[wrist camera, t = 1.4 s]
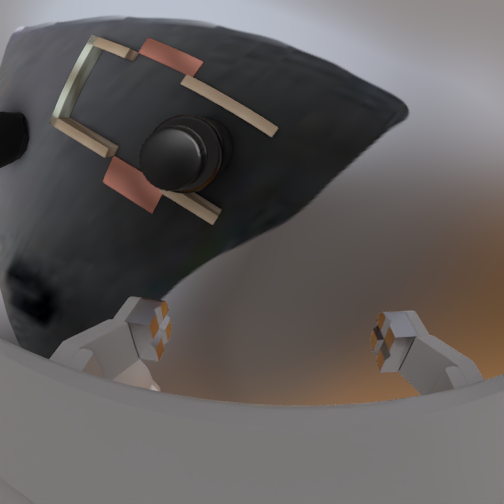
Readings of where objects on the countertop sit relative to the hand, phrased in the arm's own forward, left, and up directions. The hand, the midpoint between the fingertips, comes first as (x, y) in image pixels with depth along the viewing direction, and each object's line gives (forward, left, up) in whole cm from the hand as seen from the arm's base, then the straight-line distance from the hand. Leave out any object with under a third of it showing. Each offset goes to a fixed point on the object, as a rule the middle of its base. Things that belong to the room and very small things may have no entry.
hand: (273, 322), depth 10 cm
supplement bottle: (0, +9, -23) cm, 24 cm away
